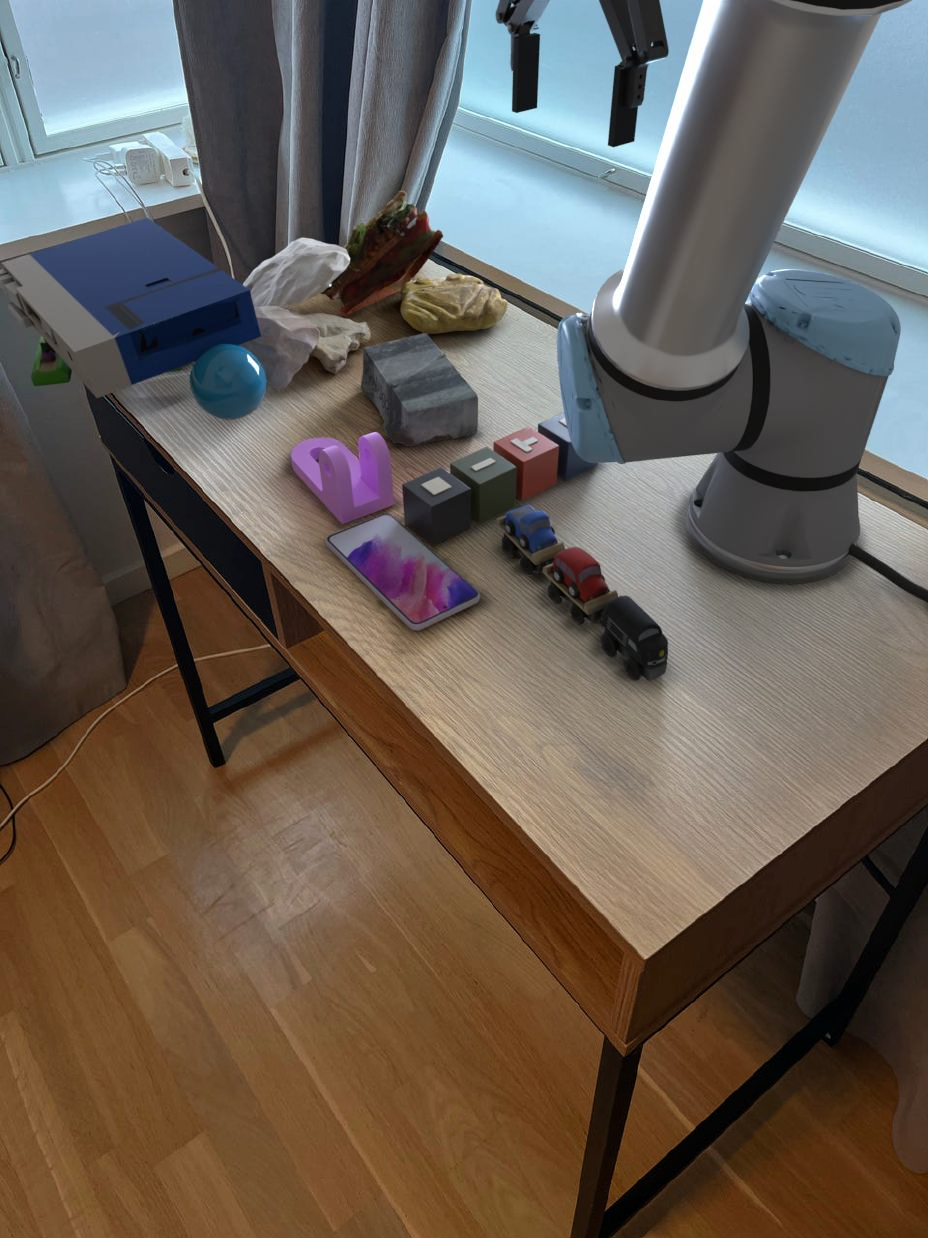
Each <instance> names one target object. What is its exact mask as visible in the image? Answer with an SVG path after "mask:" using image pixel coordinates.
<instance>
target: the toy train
mask: <svg viewBox="0 0 928 1238" xmlns="http://www.w3.org/2000/svg"><path fill="white" fill-rule="evenodd" d="M495 521H496V526H497V528H499V529H500V530H501V531H502V535H503V537H501V539H500V542H501V543H500V544H501V549H502V550H503V552H504V553H505V554H506V556H508V557H509V558H513V557H514V556H515V555H516V553H518V554H519V555H520V558H519V566H520V569H521V571H522V572H523V573H524V574H525V575H526V576H527V577H532V576H533V575H534V573H537V574H541V573H543V574H544V575H545V576H546V578H548V579H549V584H548V586H547V588H546V591H547V597H548V598H549V599H550V600H551V602H552V603H554V604H555V605H561V604H562V603H563V599H564V600H565V601H567V602H568V603H569V604H570V605H569V608H568V609H569V614H570V618H571V619H572V620H573V621H574V622H575V623H576V624H577V625H578V626H579V625H580V626H582V625H584V624H585V622H586V620H587V621H588V622H589V623H591V624H595V623H597V622H599V624H600V625H601V627H603V630H604V631H603V633H602V634H601V636H600V645H601V649H602V651H604V653H605V654H606V655H607V656H608V657H610V658H615V657H616V656H617V655H618V653H619V654H620V655H621V656H622V657H623V658H624V660H623V667H624V669H625V670H624V671H625V673H626V674H627V675H628V676H629V678H630V679H632V680H634V681H638V680H640V678H641V676H642V677H643V679H645V680H646V681H648V682H649V681H652V680H655V679H657V678H659V677H661V676H663V675H665V674H666V672H667V667H668V658H669V640H668V638H667V637H666V635H665V634H664V633H663V630H662V627H661V626H660V625H659V624H658V623H657V622H656V620H654V619H653V617H651V616H650V615H649V614H648V613H647V612H646V611H645V610H644V609H643V607H641V606H640V605H638V603H637V602H636V601H635V600H634V599H633V598H632V597H631V596H629V595H620V596H619V593H618V591H617V589H615V590H613V591H611V590H610V588H609V586H608V584H607V583H606V579H605V577H604V575H603V574H602V568H601V564H600V563H599V562H598V560H597V559H596V558H594V557H593V556H592V555H591V554H590V553H589V552H588V551H585V549H583V548H581V547H579V546H571V547H568V548H566V545H565V543H564V541H558V538H557V536H556V531H555V528H554V527H553V526H552V525H551V520H550V516H549V515H548V513H546V512H545V511H544V510H535V509H534V508H533V507H532V506H531V505H530V504H527V505H523V506H521V507H518V508H515V509H512V510H509V511H507V512H506V513H505V515H504V516H500V517H498V518H496V520H495Z"/></svg>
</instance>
